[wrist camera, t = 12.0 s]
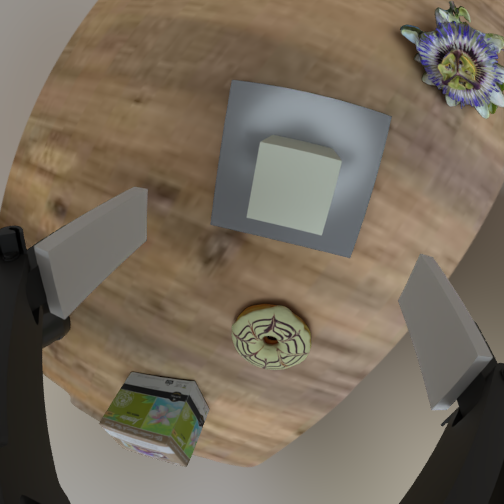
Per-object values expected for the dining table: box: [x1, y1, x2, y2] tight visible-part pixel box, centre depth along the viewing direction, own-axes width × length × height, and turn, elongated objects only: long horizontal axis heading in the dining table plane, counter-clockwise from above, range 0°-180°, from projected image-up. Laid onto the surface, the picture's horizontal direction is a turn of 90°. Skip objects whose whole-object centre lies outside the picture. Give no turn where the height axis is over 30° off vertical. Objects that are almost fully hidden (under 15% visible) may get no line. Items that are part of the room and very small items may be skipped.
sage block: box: [247, 135, 342, 235], centre depth 25 cm, size 6×6×8 cm
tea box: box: [99, 372, 209, 467], centre depth 46 cm, size 15×10×15 cm, turn 100°
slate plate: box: [211, 80, 392, 258], centre depth 29 cm, size 16×16×1 cm
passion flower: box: [400, 1, 504, 119], centre depth 17 cm, size 11×11×12 cm
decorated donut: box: [232, 304, 311, 370], centre depth 38 cm, size 10×11×4 cm
